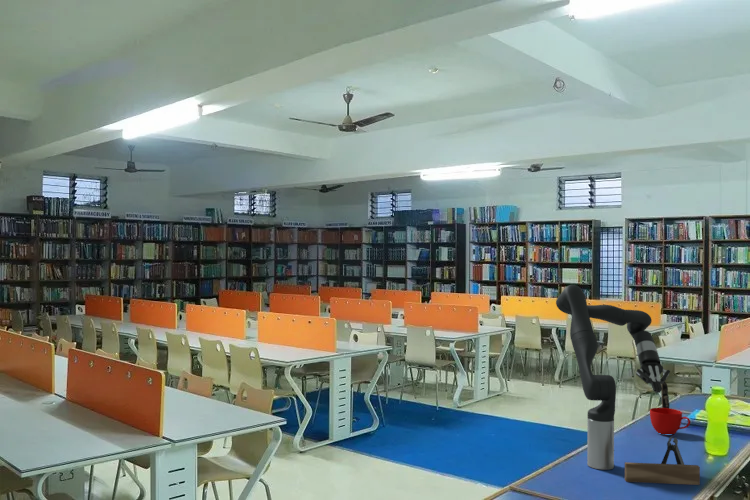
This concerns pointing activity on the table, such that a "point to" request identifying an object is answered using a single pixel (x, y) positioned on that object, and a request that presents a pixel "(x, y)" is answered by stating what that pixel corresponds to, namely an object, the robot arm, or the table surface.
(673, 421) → the ceramic cup
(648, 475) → the board
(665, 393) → the statue
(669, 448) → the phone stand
